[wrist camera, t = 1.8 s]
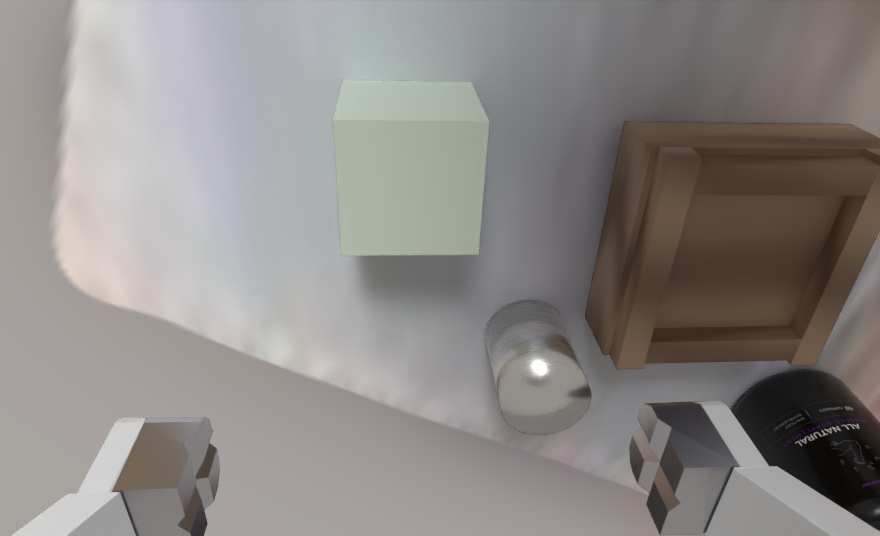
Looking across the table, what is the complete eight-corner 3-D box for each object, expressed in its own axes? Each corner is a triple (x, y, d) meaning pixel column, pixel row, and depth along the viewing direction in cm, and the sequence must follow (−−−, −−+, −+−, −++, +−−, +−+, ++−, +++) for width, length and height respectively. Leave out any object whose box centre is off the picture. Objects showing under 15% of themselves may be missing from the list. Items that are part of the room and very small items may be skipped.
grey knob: (488, 300, 29) (505, 369, 25) (568, 299, 29) (598, 367, 25) (482, 363, 31) (496, 436, 27) (557, 361, 31) (583, 433, 27)
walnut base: (624, 121, 25) (662, 157, 21) (850, 124, 25) (922, 158, 22) (584, 316, 30) (610, 369, 26) (773, 312, 31) (821, 364, 27)
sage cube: (343, 79, 23) (332, 119, 19) (471, 81, 23) (489, 121, 19) (348, 196, 26) (341, 255, 21) (463, 197, 26) (478, 254, 22)
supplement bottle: (789, 346, 32) (976, 554, 22) (866, 390, 34) (1067, 597, 24) (699, 426, 35) (827, 643, 25) (775, 462, 37) (921, 674, 27)
